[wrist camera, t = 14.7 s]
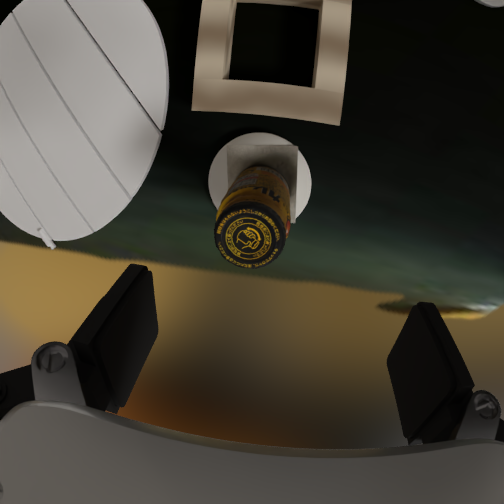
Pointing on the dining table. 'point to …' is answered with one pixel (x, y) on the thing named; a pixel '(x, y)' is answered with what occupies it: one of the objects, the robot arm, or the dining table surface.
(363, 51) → the dining table surface
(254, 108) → the holder
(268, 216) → the condiment
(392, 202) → the dining table surface
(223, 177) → the coaster
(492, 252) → the dining table surface
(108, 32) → the lazy susan
